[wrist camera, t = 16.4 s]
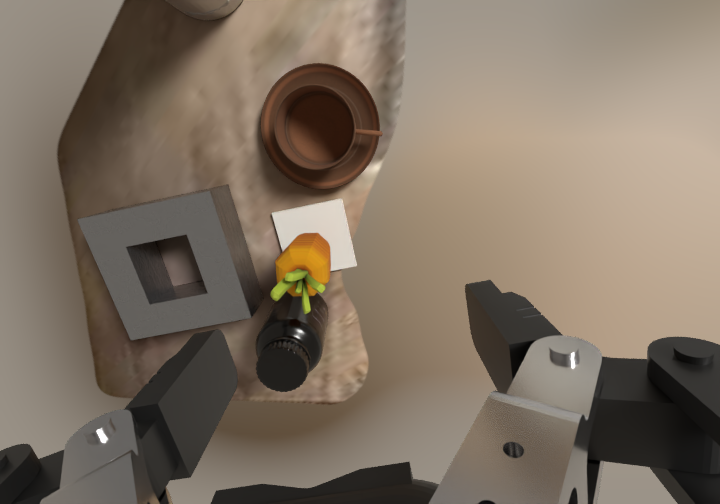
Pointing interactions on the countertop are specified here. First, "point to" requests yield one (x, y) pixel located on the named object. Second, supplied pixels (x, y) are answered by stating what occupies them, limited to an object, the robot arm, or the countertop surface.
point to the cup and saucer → (320, 126)
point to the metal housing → (149, 275)
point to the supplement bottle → (291, 342)
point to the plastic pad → (319, 229)
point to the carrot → (303, 268)
